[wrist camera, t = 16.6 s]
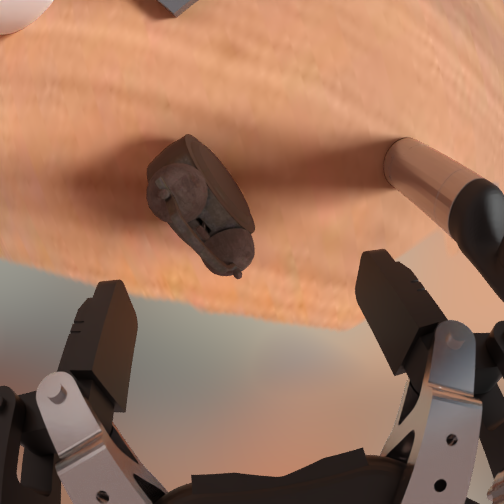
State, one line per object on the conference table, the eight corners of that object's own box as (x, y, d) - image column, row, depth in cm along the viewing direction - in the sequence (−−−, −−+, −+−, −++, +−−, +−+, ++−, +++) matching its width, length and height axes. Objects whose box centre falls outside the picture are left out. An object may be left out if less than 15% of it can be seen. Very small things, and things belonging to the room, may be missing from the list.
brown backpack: (151, 152, 39) (110, 218, 23) (192, 120, 38) (176, 163, 21) (212, 223, 47) (216, 318, 30) (251, 197, 45) (277, 284, 29)
